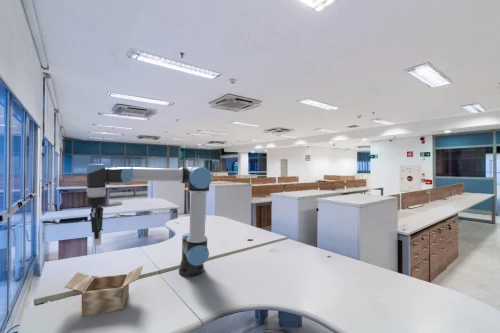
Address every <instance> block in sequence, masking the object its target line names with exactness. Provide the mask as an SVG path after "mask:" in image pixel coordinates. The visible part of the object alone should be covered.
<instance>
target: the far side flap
mask: <svg viewBox="0 0 500 333" xmlns="http://www.w3.org/2000/svg"><path fill="white" fill-rule="evenodd" d="M92 276H93V275H88V274H84V273H80V272H76V273H75V275H74V276H72V278H71V279H70V280H69V281H68V282H67V283H66V285H65V286H64V289H65V288H66V289H69V290H73V291H77V292H80V293H82V292H83V290H84V288H85V287H86V285H87V284H88V283H89V281H90V280H91V278H92Z"/></svg>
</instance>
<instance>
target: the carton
mask: <svg viewBox="0 0 500 333" xmlns="http://www.w3.org/2000/svg"><path fill="white" fill-rule="evenodd" d="M128 274H129V273H127V274H126V273H125V274H123V273H121V274H115V275H114V274H113V275H105V276H95V277H94V278H92V279H91V281H90V282H89V283H88V285H87V286H86V288H85V289H84V290H83V291H82V292H81V317H83V316H91V315H96V314H97V315H99V314H104V313H110V312H117V311H122V310H124V307H125V305H126V302H127V299H128V297H129V295H130V292H129V291H130V290H129V289H130V284H128V285H126V286H124V287H123V285H124V283H125V281H126V278H127V276H128Z"/></svg>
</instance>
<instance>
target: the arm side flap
mask: <svg viewBox="0 0 500 333" xmlns="http://www.w3.org/2000/svg"><path fill="white" fill-rule="evenodd" d="M143 266H144V265H141V266H139V267H137V268H136V269H133V270H131V271H130V272H128V273H127V274H128V276H127V278H126V281H125V283H124V285H123V287H124V286H126V285H128V284H129V285H130V284H132V283H133V282H136V281H137V280H139V279H140V277H141V276H140V275H141V274H142V270H143Z"/></svg>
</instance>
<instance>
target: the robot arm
mask: <svg viewBox="0 0 500 333" xmlns="http://www.w3.org/2000/svg"><path fill="white" fill-rule="evenodd" d="M212 180H213V177H212V174H211V171H210V170H209V169H208V168H207V167H204V166H199V165H195V166H185V167H184V166H181V167H180V168H168V167H166V168H164V167H163V168H162V167H161V168H160V167H135V166H134V167H131V166H128V167H127V166H118V167H106V165H105V164H104V163H89V164H87V165H86V190H85V191H86V192H87V193H86V194H87V198H86V200H87V202H86V204H87V206H91V209H90V212H89V217H90V223H91V224H90V225H91V233H93V246H95V247H96V246H101V245H102V231H103V230H104V228H103V217H104V216H103V215H104V208H103V207H102V205H105V204H106V203H107V196H106V195H107V190H106V189H107V188H106V184H122V183H123V184H126V183H132V182H179V183H181V184H187V191H188V192H189V193H190V202H189V204H190V206H189V208H190V209H189V232H188V233H185V234H183V235H182V239H181V241H182V242H181V243H182V244H181V261H180V263H179V267H178V274H179V275H180V276H183V277H197V276H199V275H201V274H202V273H203V272H204V270H205V265H204V264H205V263H206V262H207V260H208V259H209V257H210V256H209V255H210V251H209V248H208V237H207V236H206V212H207V211H206V210H207V194H208V193H209V191H210V184H211V183H212Z"/></svg>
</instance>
